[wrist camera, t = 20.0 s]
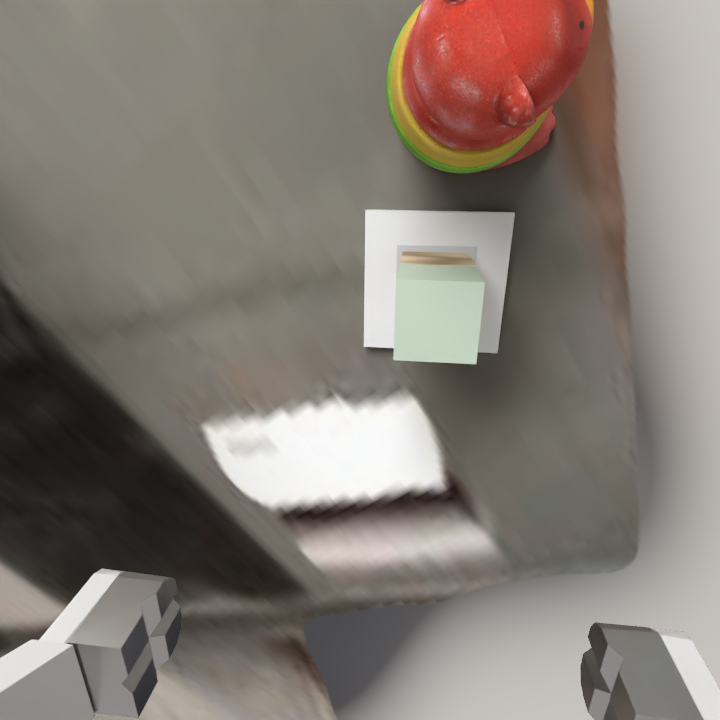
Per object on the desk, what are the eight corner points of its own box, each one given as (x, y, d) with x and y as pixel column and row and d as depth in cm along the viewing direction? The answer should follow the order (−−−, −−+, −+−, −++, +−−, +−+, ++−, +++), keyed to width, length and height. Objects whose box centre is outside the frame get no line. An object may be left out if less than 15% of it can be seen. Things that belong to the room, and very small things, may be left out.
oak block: (399, 314, 38) (397, 333, 33) (402, 251, 36) (399, 262, 32) (462, 316, 38) (468, 336, 33) (468, 253, 36) (475, 265, 31)
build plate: (364, 343, 40) (363, 347, 40) (366, 209, 36) (365, 210, 35) (495, 349, 39) (497, 353, 38) (513, 211, 35) (515, 212, 34)
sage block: (397, 334, 33) (393, 360, 29) (399, 263, 32) (396, 279, 27) (468, 337, 33) (476, 364, 28) (475, 265, 31) (485, 282, 26)
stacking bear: (561, 140, 33) (701, 107, 17) (427, 204, 36) (432, 231, 19) (509, -28, 30) (616, -272, 14) (366, 56, 33) (311, -62, 16)
